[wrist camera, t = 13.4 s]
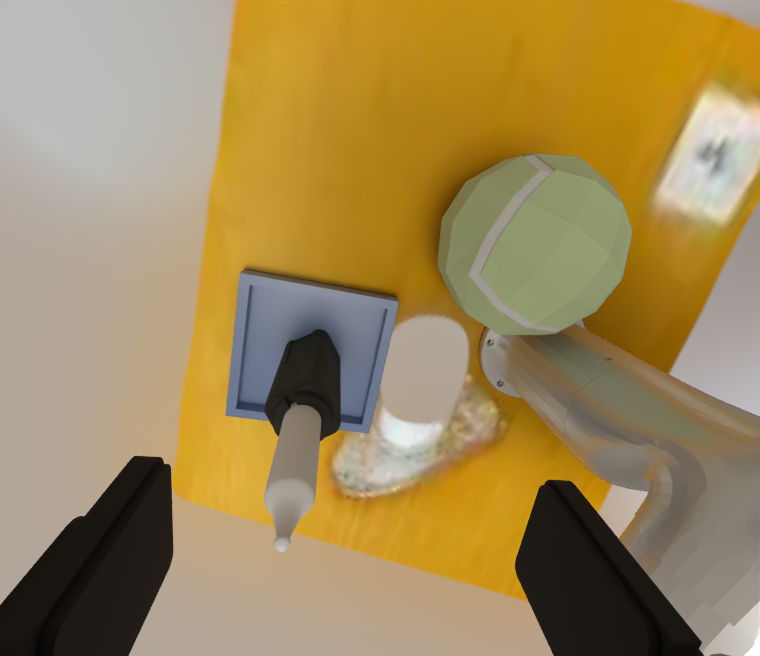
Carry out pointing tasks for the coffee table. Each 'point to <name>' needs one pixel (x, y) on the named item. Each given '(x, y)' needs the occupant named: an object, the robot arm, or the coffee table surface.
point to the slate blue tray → (300, 318)
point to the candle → (300, 427)
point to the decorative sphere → (534, 244)
